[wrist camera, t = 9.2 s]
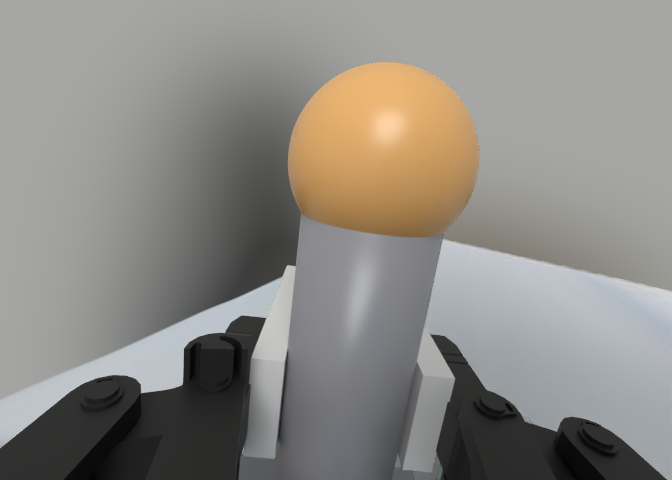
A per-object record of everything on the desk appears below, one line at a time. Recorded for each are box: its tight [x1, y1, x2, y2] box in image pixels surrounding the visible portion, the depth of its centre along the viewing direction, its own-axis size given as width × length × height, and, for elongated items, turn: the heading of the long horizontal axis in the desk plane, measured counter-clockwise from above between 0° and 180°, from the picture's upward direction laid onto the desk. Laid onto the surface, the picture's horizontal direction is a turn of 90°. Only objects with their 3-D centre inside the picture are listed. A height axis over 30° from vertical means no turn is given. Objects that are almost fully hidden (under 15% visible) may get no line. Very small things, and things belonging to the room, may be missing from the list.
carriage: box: [238, 62, 479, 480], centre depth 9 cm, size 8×8×18 cm
